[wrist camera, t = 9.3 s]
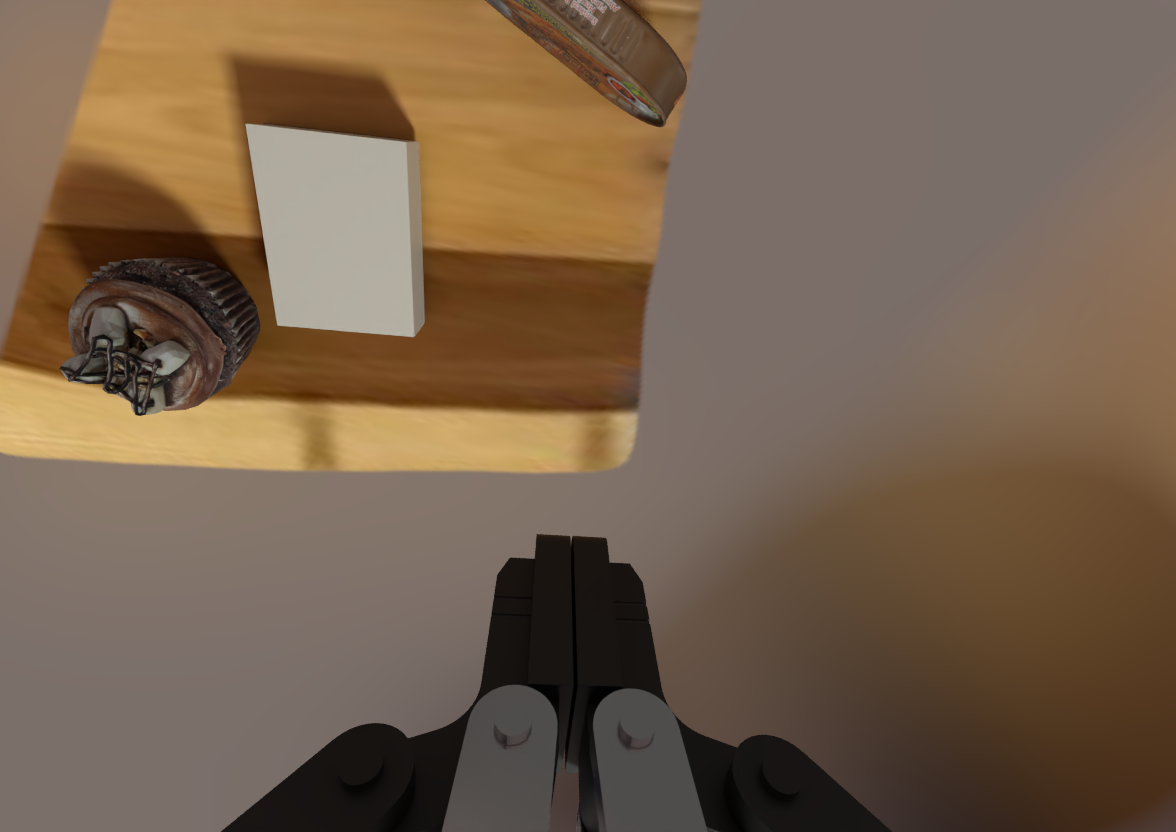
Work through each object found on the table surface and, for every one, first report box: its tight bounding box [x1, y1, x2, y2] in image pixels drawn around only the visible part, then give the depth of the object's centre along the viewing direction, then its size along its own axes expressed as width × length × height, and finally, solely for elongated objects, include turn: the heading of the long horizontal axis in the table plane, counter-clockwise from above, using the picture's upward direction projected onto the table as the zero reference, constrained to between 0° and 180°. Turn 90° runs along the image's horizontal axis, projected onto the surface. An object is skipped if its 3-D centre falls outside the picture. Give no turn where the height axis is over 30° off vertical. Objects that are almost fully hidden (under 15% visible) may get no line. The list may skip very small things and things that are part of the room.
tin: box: [485, 0, 687, 127], centre depth 29 cm, size 15×3×8 cm, turn 55°
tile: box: [246, 124, 425, 337], centre depth 36 cm, size 12×4×9 cm
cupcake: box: [59, 257, 260, 416], centre depth 35 cm, size 10×10×10 cm
